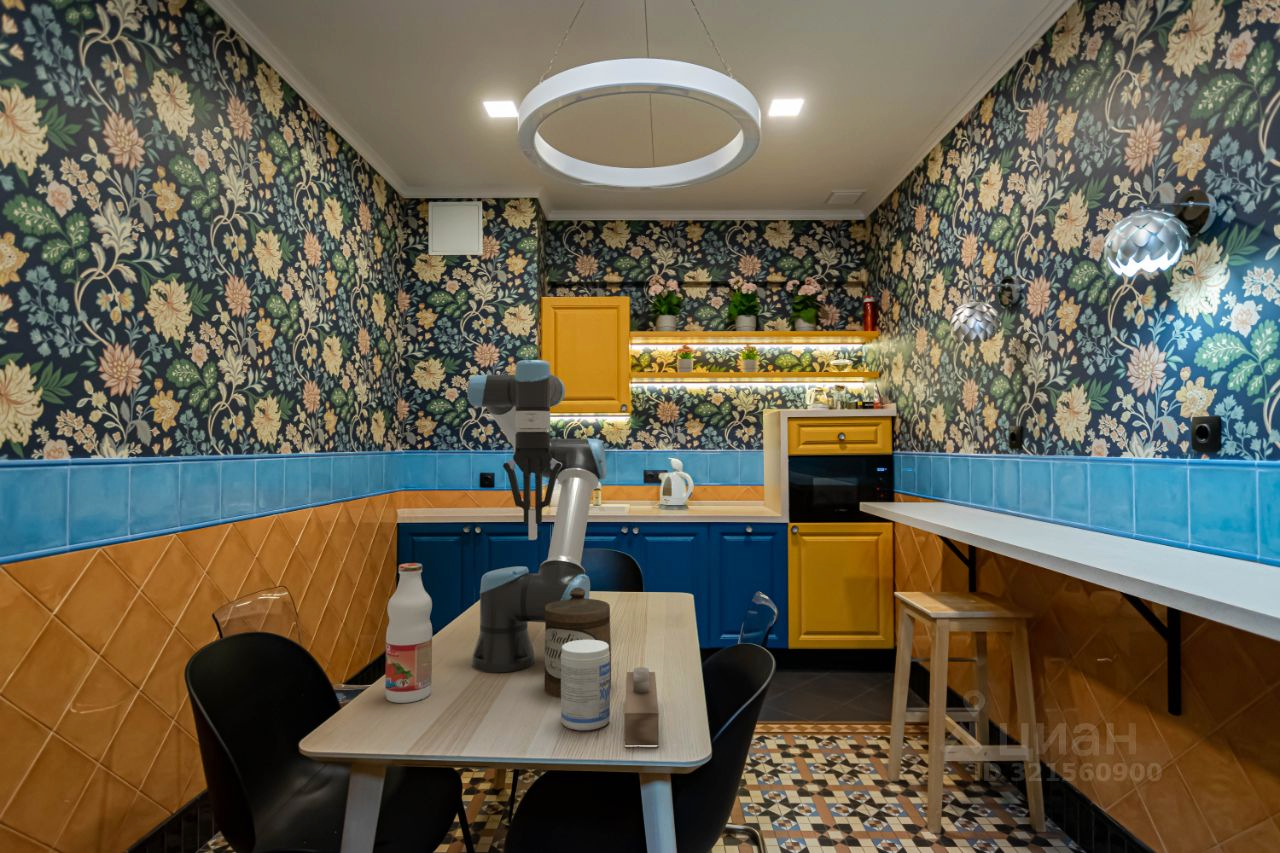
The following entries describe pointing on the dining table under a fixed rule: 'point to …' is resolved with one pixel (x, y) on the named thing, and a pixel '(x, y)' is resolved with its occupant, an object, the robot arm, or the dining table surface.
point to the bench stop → (641, 708)
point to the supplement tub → (585, 684)
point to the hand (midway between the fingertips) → (532, 538)
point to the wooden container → (572, 631)
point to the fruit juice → (409, 639)
